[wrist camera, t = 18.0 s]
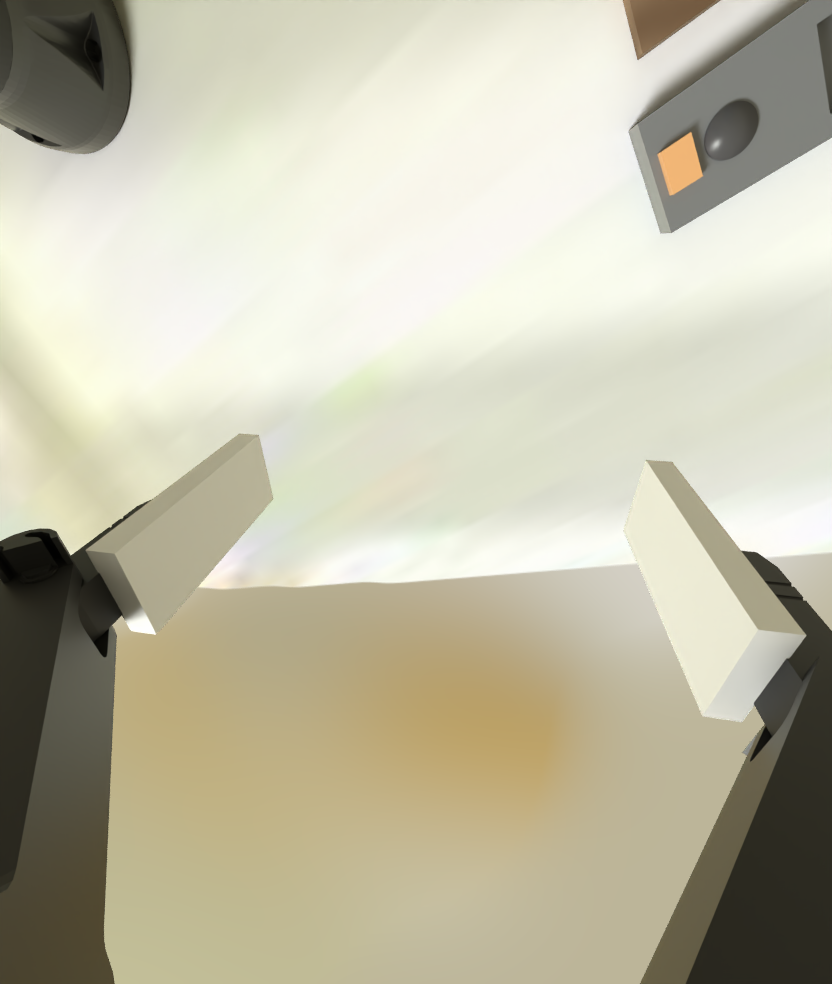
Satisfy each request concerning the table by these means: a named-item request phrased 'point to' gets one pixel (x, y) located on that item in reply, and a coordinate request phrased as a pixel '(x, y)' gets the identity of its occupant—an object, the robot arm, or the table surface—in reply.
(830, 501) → the table surface
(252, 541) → the table surface
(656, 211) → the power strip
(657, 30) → the walnut pad
